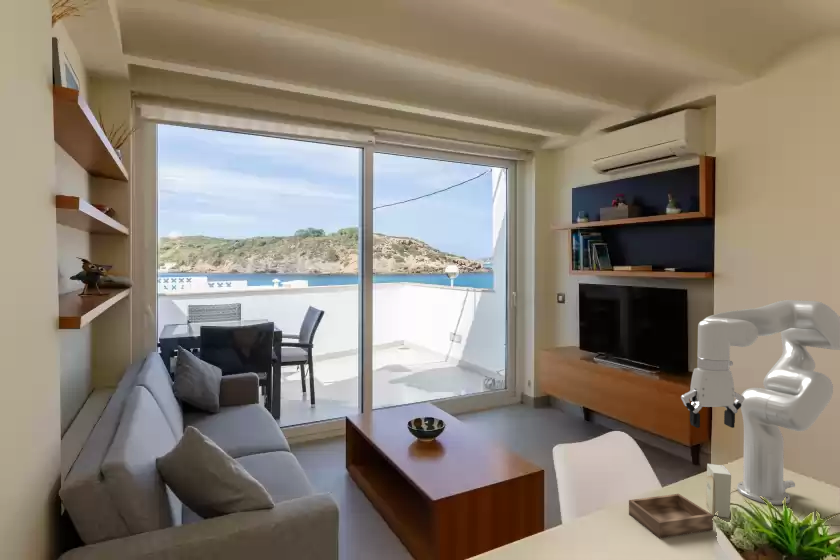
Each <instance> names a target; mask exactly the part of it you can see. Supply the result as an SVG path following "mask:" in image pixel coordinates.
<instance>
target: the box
mask: <svg viewBox="0 0 840 560" xmlns="http://www.w3.org/2000/svg"><path fill="white" fill-rule="evenodd" d="M628 515H629V516H630V517H631V518H633V520H635V521H636V522H638V523H639V524H640V525H641V526H643V527H644V528H645V529H646V530H648V531H649V532H651V533H652V535H654V536H655V537H656V538H658V539H666V538H675V537H679V536H685V535H687V536H688V535H693V534H698V533H706V532H712V531H714V516H713V515H712V514H711V513H710V511H709V512H708V511H707V510H705V509H704V508H702V507H701V506H700V505H698V504H696V503H695V502H693V501H692V500H689V498H687V497H684V496H683V495H681V494H679V493H675V494H674V493H673V494H666V495H658V496H651V497H644V498H643V497H642V498H636V499H635V498H634V499H629V500H628ZM712 518H713V520H712Z"/></svg>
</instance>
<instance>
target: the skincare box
mask: <svg viewBox="0 0 840 560" xmlns="http://www.w3.org/2000/svg"><path fill="white" fill-rule="evenodd" d="M731 490H732V474H731V473H730V471H729V470H728V469H727V468H726V466H725V465H722V464H715V463H714V464H713V463H707V465H706V494H705V495H706V497H705V505H706V508H708V510H709V513H710V514H712V515H713V517H715V516H714V515H715V513H716V512H717V511H719V512H718V516H717V517H720V518H727V519H730V518H729V516H730V517H731V494H732V493H731V492H732V491H731Z"/></svg>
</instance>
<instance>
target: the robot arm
mask: <svg viewBox="0 0 840 560" xmlns="http://www.w3.org/2000/svg"><path fill="white" fill-rule="evenodd" d="M779 333H780V337H781V338H780V339H781V345H782V354H781V356H780V357H779V359H778V360H777V361H776V363H774V365H773V366H772V367H771V368H770V370H769V371H768V372H767V373H766V375H765V376H764V378H763V383H762V385H763V387H764V388H760V387H749V388H747V389H745V390H744V391H743V392H742V393H741V394H740V393H738V392H736V391H735V384H734V376H733V373H732V371H731V369H730V367H731V366H733V365H734V361H732V360H731V359H730V357H731V355H730V354H731V353H730V352H731V350H730V349H731V347H740V348H745V347H749V346H751V345H753V344H754V343H756V341H757V340H758V337H765V336H766V337H768V336H773V335H775V334H779ZM807 347H808V348H809V347H810V348H818V349H824V350H825V349H826V350H834V351H838V350H839V351H840V315H839V314H838V313H837V312H836V311H835V310H833V308H832V307H830V306H829V305H827V304H826V303H824V302H822V301H816V300H800V299H799V300H796V299H785V300H778V301H776V302H773V303H770V304H769V303H768V304H766V305H762V306H760V307H756V308H755V307H753V308H746V309H739V310H731V311H725V312H718V313H716V314H712V315H709V316H706V317H705V318H704V319H702V320H701V321H699V323H698V325H697V357H696V358H697V359H696V360H697V366H696V368H693V372H692V375H691V381H690V390H689V391H688V392H685V393H684V394H682V395H681V396H680V399H681V401H682V403H683V405H684V406H685V408H687V410H688V411H689V422H690V426H693V427H695V428H696V429H699V428H700V427H701V413H699V411H701V410H702V408H703V407H705V408H706V407H707V408H710V407H711V408H712V407H714V408H718V407H719V408H722V407H723V408H725V410H724V411H723V412H724V414H723V415H724V417H723V418H724V419H723V423H724V425H725V426H727V427H730V428H732V429H734V428H735V422H736V414H737V413H738V410H739V409H740V411H741V415H742V421H743V422H742V423H743V479H742V480H743V481H740V482H738V483H737V485H736V490H737V491H738V493H740V494H741V495H743V496H744V497H746V498H748V499H751V500H752V501H756V502H759V503H763V504H765V503H764V501H763V500H762V499H761V498H760V497H759V496H762V497H765V498H766V499H767V500H768V501H769V502H771V503H772V504H771V505H774V504H775V505H776V506H781V505H782V501H783V500H784V498H785V497H786V503H787V504H789V503H790V502H791V496H790V495H789V493H788V492H786V490H787V489H789V488H791V489H792V488H795V487H796V483H795V482H794V480H784V467H785V466H784V463H785V461H784V459H785V458H784V455H785V453H784V452H785V450H784V449H785V448H784V446H785V442H784V436H783V434H782V431H781V429H780V428H784V429H788V430H791V431H795V432H805V431H807V430H808V429H811V427H812V426H813V425H814V423H816V421H817V420H818V418H819V417H820V416H821V414H822V413H823V411H824V410H825V409H826V407H827V406H829V403H830V401H831V400H832V396H833V395H834V394H833V393H834V386H833V385H834V384H833V382H832V379H830V378H829V376H827V375H826V374H825V373H822V372H818V371H815V370H816V369H815V368H816V362H815V359H814V358H813V355H811V353H810V352H809V351H808V350H807Z"/></svg>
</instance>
